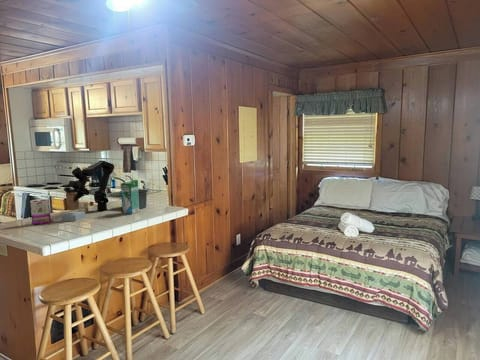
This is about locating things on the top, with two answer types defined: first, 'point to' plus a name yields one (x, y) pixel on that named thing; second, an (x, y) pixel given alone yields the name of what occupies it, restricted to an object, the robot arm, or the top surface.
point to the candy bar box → (40, 211)
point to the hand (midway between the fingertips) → (71, 200)
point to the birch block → (83, 207)
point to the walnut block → (72, 201)
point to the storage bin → (142, 198)
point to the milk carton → (130, 197)
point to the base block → (73, 216)
